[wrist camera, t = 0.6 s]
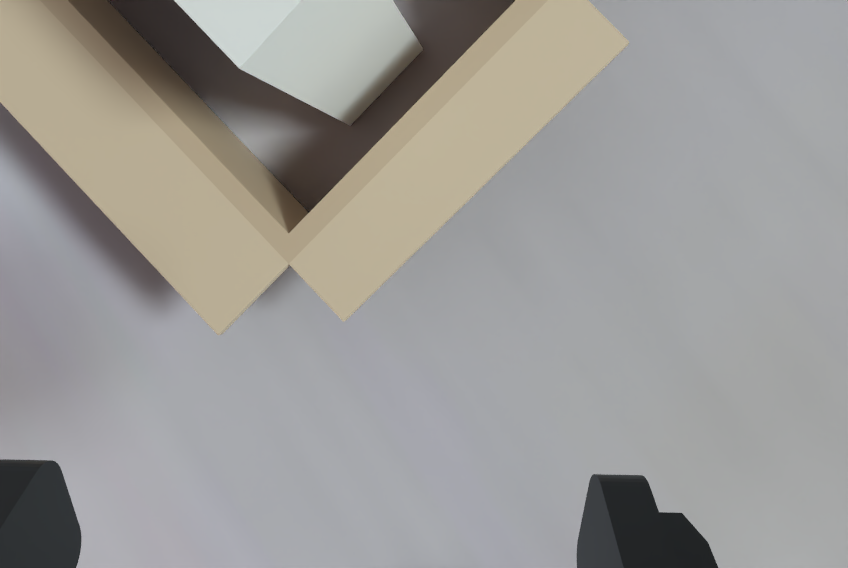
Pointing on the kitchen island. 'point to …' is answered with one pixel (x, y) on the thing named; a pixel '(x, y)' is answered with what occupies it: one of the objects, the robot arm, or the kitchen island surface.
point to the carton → (250, 180)
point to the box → (313, 46)
